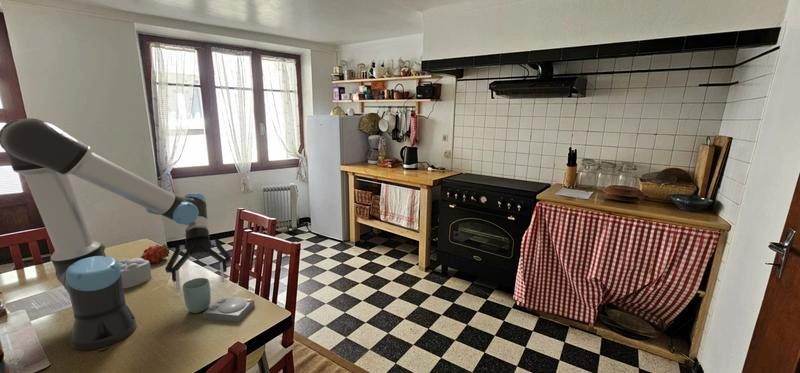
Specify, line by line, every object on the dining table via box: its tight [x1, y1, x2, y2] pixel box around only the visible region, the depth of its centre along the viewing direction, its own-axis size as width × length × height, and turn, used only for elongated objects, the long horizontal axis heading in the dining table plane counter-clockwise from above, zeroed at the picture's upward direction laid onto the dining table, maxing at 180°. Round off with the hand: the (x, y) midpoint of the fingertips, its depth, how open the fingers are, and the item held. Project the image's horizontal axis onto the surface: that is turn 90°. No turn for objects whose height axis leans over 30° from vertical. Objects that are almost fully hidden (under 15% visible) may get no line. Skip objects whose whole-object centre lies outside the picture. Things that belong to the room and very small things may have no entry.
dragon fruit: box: [140, 244, 171, 264], centre depth 152 cm, size 8×8×12 cm
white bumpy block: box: [118, 257, 153, 290], centre depth 133 cm, size 10×13×9 cm
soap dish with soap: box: [203, 296, 255, 323], centre depth 115 cm, size 10×12×3 cm
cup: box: [182, 277, 212, 314], centre depth 116 cm, size 8×8×10 cm
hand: (201, 285), depth 118 cm, fingers open, 13 cm apart
